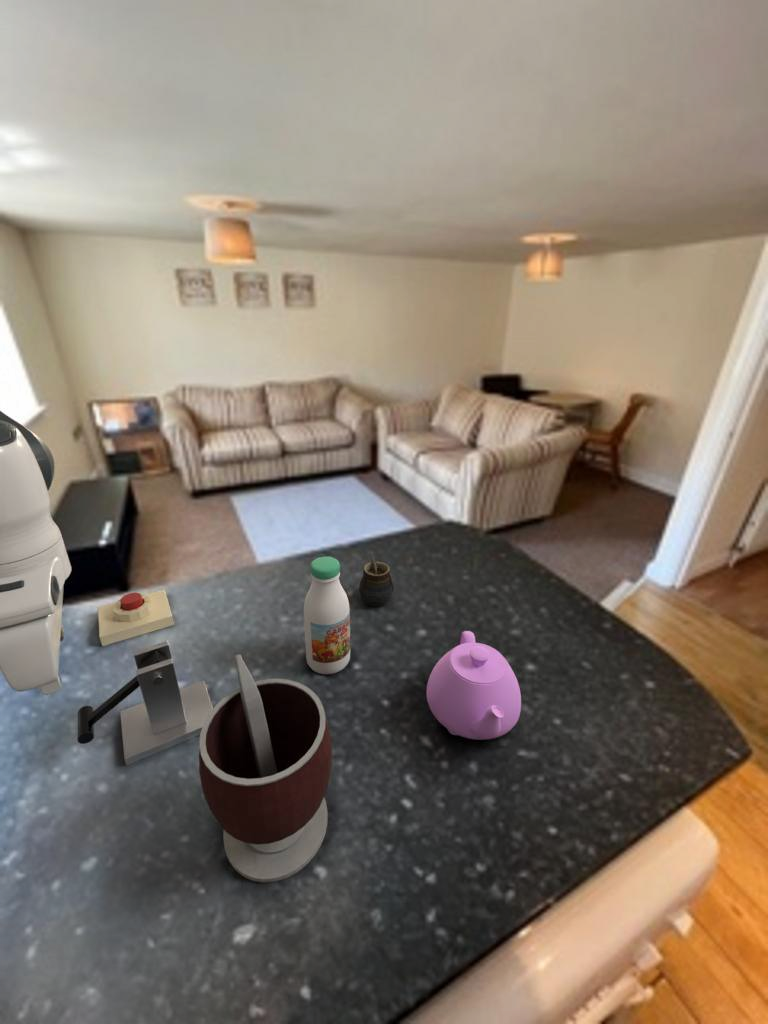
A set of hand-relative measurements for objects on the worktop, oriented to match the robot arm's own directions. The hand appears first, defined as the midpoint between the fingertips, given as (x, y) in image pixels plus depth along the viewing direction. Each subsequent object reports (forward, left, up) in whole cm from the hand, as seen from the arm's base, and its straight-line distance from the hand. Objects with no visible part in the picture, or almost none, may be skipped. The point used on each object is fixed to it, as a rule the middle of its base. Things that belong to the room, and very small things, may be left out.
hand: (55, 662), depth 55 cm
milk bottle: (+36, 0, -17) cm, 40 cm away
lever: (+6, 0, -9) cm, 11 cm away
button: (+8, +28, -13) cm, 32 cm away
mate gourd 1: (+19, -21, -17) cm, 33 cm away
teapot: (+50, -22, -17) cm, 57 cm away
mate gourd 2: (+52, +11, -17) cm, 56 cm away
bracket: (+10, 0, -16) cm, 19 cm away
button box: (+8, +28, -16) cm, 33 cm away
